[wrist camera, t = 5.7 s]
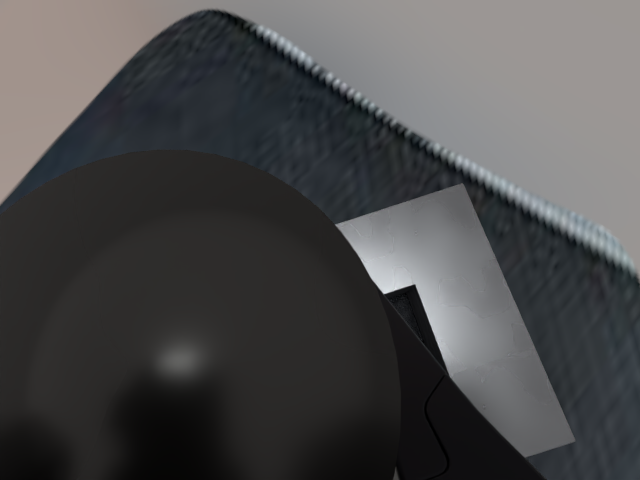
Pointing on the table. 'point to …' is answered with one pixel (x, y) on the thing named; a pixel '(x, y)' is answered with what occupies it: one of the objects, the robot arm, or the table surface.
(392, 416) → the black knobbed metal rod
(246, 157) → the table surface
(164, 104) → the table surface
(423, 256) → the grey square frame block
